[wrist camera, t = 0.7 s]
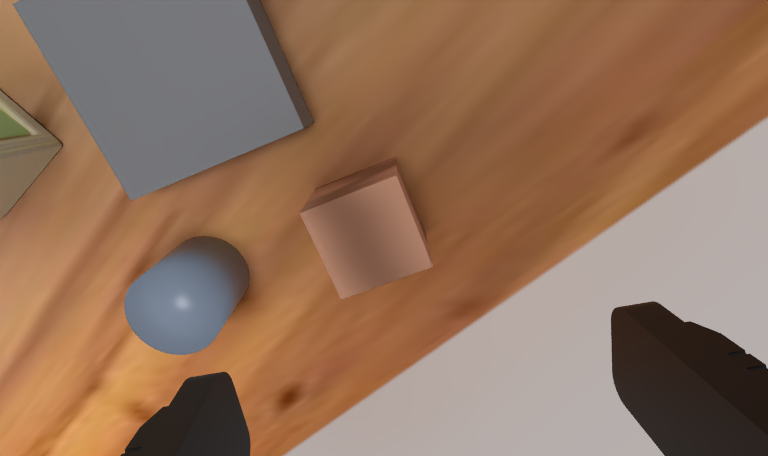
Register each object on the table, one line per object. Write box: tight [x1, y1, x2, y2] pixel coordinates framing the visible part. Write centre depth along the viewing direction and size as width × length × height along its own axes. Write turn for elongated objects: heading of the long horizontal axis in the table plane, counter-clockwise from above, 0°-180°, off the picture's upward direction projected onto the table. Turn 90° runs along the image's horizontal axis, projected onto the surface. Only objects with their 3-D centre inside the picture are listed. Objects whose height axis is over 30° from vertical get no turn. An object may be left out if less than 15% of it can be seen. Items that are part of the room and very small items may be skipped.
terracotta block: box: [300, 157, 433, 300], centre depth 24 cm, size 5×5×5 cm
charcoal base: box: [13, 0, 314, 201], centre depth 23 cm, size 10×10×3 cm
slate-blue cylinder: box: [125, 236, 249, 355], centre depth 26 cm, size 5×5×5 cm
